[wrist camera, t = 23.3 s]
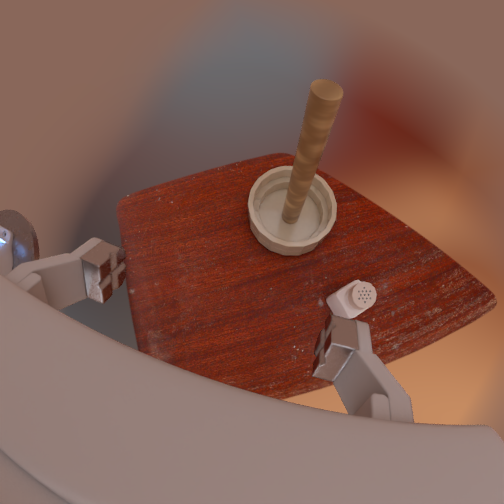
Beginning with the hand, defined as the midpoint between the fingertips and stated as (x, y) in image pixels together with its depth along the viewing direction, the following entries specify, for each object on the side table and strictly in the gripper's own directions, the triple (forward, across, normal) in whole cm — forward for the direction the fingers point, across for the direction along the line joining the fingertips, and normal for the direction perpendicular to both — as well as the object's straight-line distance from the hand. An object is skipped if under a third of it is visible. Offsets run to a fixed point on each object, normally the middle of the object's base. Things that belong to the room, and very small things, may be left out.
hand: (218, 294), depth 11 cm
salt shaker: (+27, -13, +18) cm, 35 cm away
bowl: (+34, -2, +10) cm, 36 cm away
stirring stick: (+34, -2, +10) cm, 35 cm away
